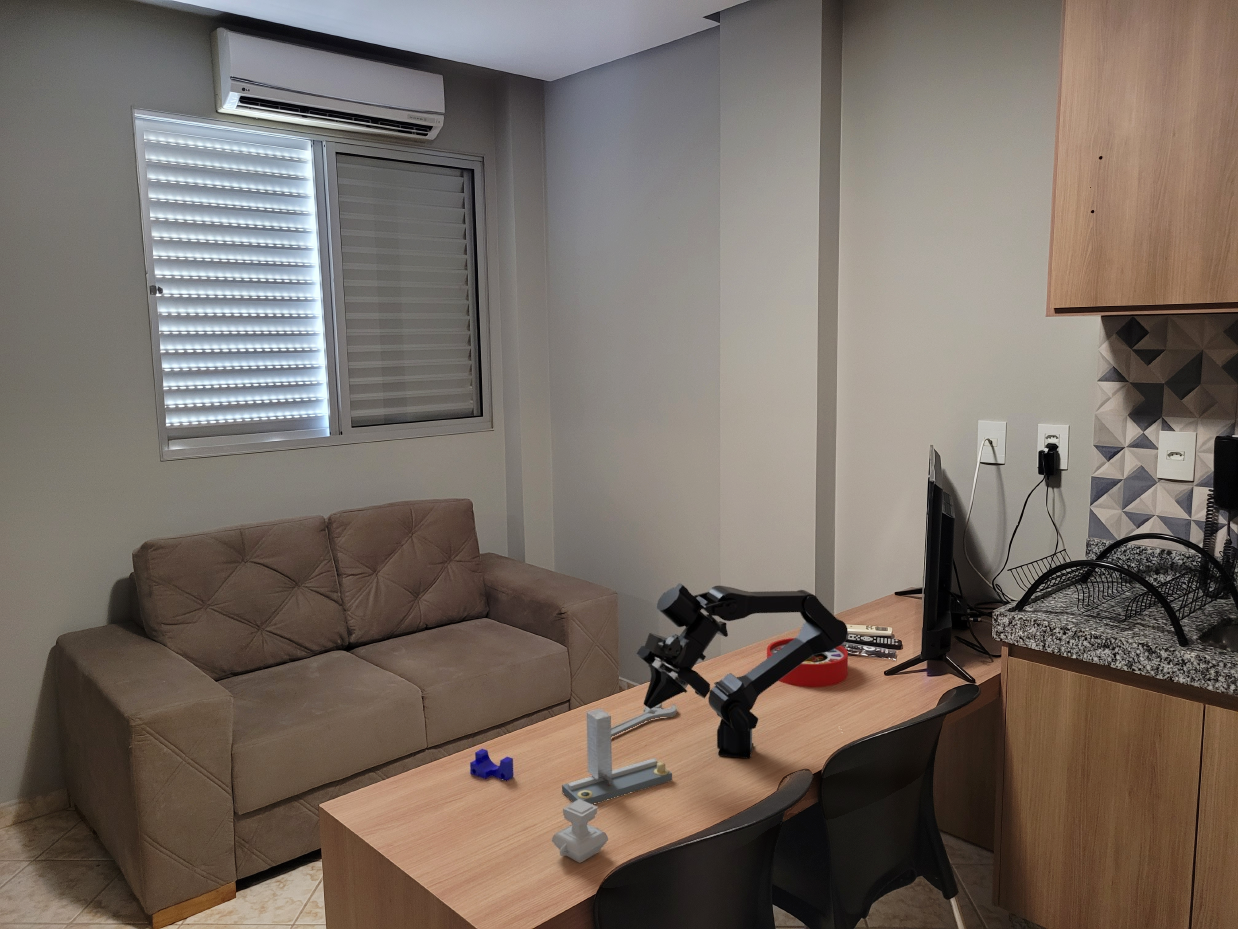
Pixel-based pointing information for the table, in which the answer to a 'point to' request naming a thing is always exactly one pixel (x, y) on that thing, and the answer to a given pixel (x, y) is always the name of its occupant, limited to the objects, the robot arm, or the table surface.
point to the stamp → (579, 832)
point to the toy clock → (815, 667)
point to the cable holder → (491, 766)
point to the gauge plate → (618, 782)
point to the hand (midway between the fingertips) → (646, 706)
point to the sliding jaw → (599, 745)
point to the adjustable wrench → (644, 718)
